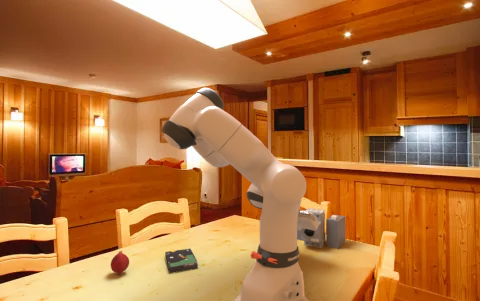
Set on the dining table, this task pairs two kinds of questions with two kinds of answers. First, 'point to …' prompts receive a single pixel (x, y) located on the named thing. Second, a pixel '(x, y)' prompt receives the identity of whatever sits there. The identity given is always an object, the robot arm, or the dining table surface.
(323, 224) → the circuit breaker
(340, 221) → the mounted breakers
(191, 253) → the disk drive
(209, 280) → the dining table surface
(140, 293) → the dining table surface
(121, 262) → the onion
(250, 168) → the robot arm
